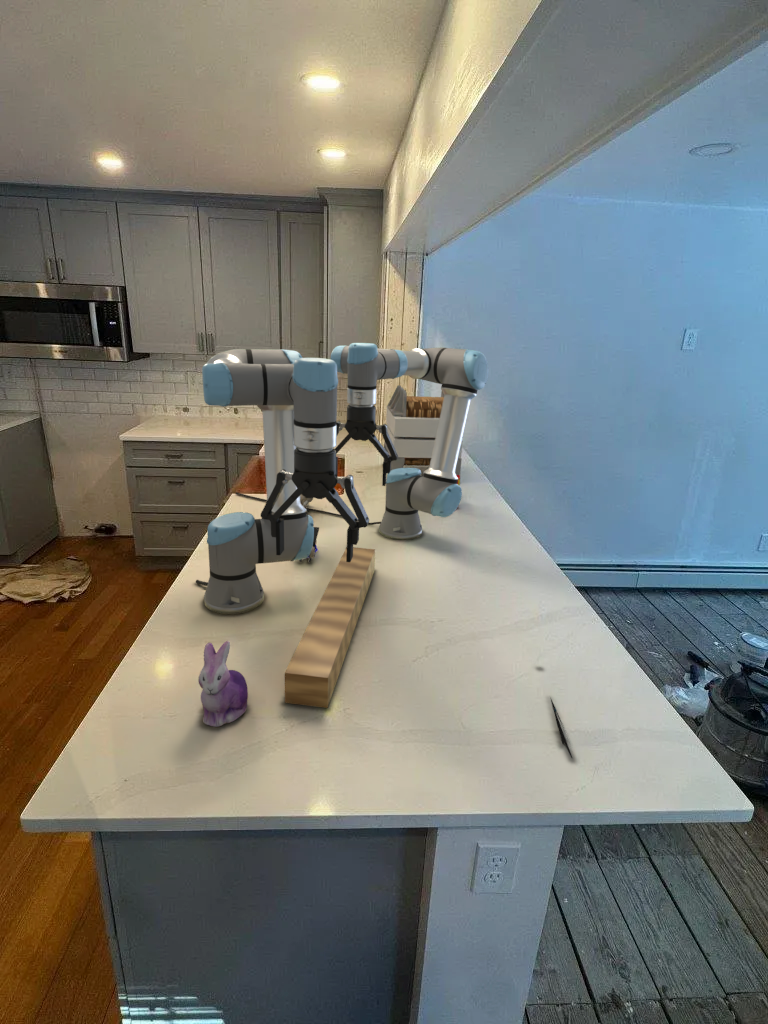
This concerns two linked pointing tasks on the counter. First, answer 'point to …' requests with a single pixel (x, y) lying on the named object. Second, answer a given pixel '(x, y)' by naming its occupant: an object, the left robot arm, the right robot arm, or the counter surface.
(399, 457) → the white slatted crate
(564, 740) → the feather
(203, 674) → the figurine
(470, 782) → the counter surface
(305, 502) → the fossil
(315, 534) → the figurine character
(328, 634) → the wide beam
